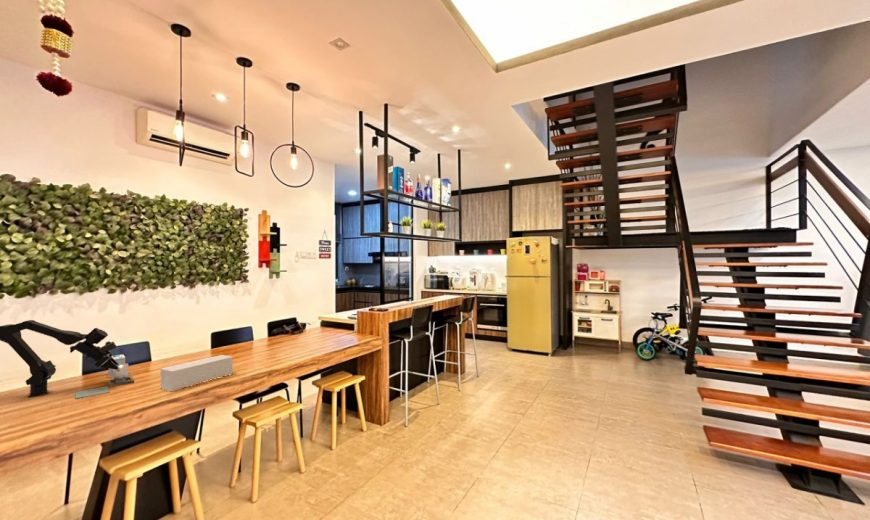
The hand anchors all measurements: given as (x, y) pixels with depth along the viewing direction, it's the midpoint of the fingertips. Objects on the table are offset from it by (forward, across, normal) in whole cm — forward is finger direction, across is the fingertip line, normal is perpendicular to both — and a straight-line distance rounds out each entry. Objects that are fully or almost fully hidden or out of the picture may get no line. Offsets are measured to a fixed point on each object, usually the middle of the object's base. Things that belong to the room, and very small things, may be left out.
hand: (117, 366), depth 189 cm
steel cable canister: (+7, 0, +6) cm, 9 cm away
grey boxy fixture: (+6, +22, +7) cm, 24 cm away
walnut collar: (+7, 0, +6) cm, 9 cm away
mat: (0, -10, +13) cm, 16 cm away
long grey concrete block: (+31, -25, -17) cm, 43 cm away
